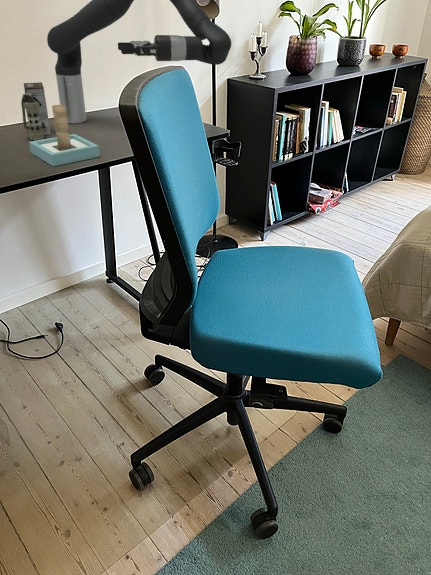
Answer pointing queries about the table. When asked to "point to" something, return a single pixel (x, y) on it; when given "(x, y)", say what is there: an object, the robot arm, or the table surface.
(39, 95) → the coffee box
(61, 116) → the peg
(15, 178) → the table surface
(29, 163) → the table surface
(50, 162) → the socket box
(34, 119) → the grenade model
